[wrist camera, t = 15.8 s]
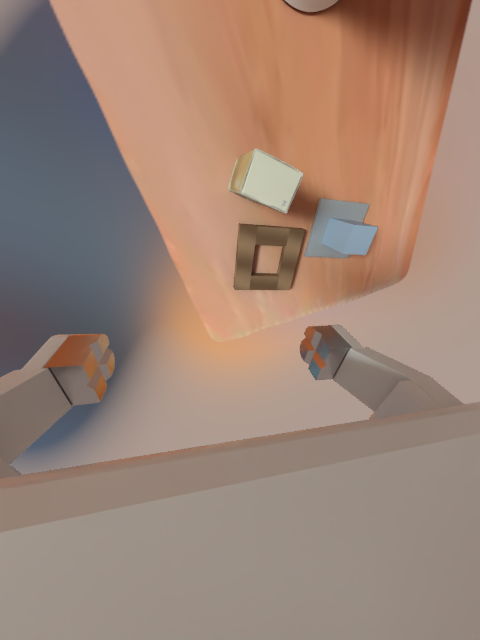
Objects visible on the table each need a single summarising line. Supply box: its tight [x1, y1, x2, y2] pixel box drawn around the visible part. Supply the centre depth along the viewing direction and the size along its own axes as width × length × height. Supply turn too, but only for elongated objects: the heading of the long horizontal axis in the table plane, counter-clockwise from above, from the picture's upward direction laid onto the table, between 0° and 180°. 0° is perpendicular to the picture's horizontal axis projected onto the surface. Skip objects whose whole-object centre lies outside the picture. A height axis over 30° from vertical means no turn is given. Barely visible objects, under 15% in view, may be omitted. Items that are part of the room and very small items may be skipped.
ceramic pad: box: [304, 198, 370, 258], centre depth 39 cm, size 10×10×1 cm
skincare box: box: [228, 149, 303, 213], centre depth 27 cm, size 6×4×12 cm
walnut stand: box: [234, 224, 305, 290], centre depth 39 cm, size 12×12×2 cm
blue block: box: [322, 218, 378, 255], centre depth 36 cm, size 4×4×7 cm
